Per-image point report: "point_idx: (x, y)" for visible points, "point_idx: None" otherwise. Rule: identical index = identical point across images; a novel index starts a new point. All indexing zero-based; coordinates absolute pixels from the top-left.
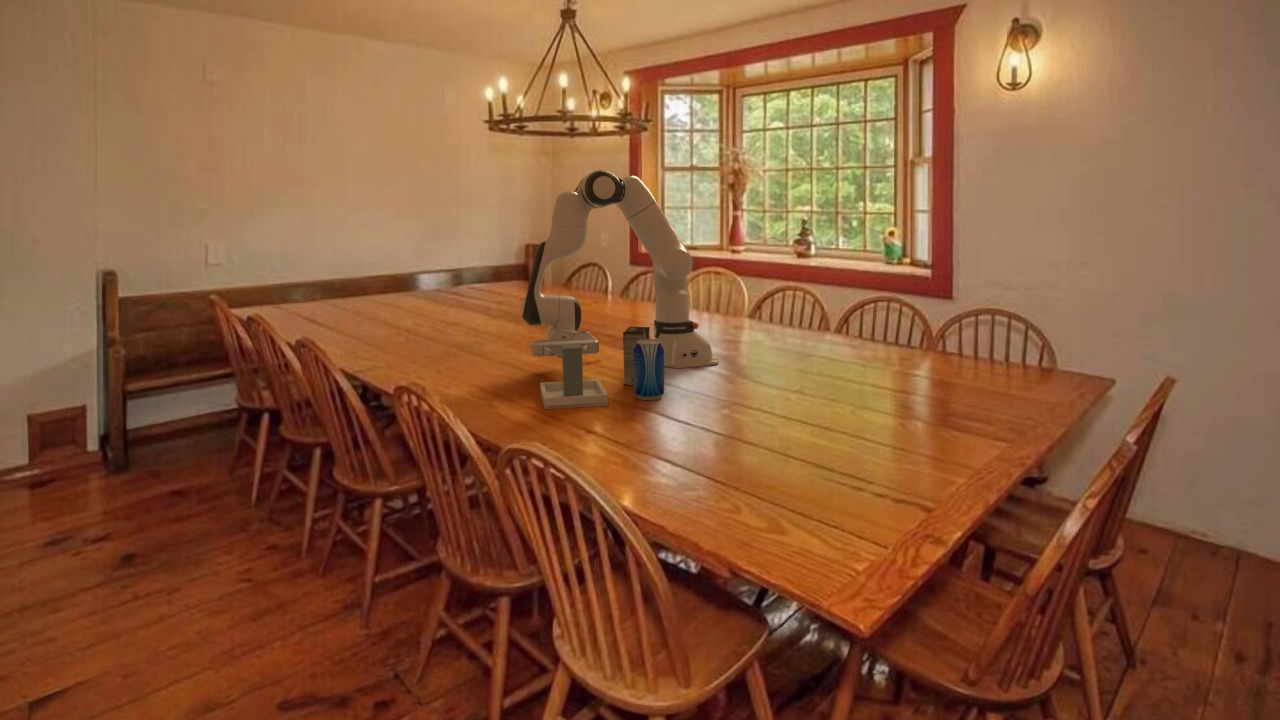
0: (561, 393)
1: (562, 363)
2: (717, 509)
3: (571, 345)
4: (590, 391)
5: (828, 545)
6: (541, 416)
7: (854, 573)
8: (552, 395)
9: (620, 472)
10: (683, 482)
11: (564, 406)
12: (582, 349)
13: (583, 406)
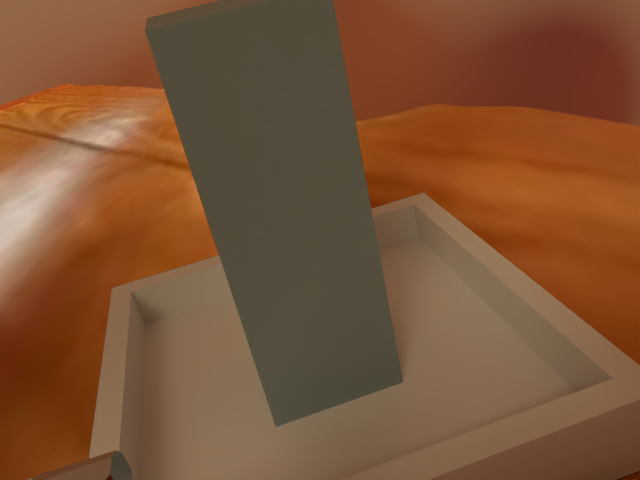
0: (419, 384)
1: (357, 159)
2: (87, 109)
3: (231, 6)
4: (203, 465)
5: (21, 110)
6: None
7: (31, 100)
8: (464, 338)
9: None
10: (98, 124)
11: None
12: (84, 462)
13: None
